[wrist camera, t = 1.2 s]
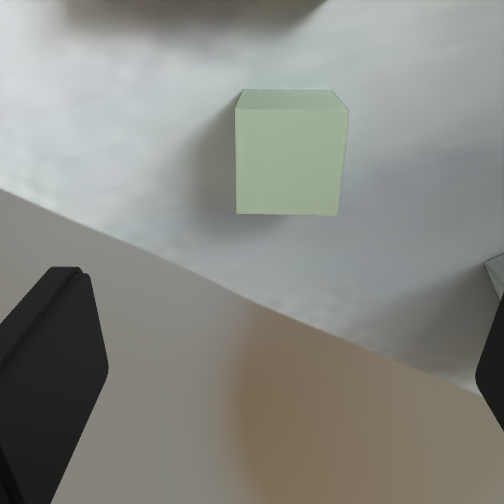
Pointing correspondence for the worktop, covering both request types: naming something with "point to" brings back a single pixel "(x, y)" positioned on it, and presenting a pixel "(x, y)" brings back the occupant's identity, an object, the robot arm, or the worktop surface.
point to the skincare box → (496, 273)
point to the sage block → (289, 152)
